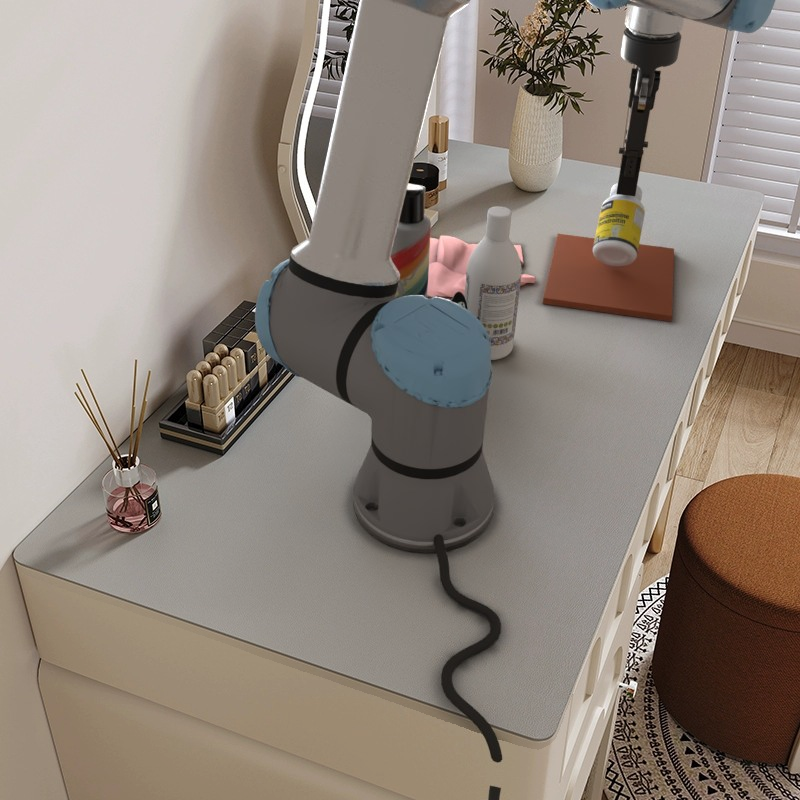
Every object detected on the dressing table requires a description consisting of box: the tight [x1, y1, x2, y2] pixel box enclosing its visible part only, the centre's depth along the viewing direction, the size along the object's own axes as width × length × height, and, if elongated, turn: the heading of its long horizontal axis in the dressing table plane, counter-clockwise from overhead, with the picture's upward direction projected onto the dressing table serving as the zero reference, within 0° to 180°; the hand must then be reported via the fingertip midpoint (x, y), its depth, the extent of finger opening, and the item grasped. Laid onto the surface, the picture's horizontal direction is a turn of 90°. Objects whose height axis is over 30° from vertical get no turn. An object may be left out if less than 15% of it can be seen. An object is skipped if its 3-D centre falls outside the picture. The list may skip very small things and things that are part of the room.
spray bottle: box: [390, 182, 432, 299], centre depth 136 cm, size 6×6×20 cm
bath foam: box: [464, 205, 523, 361], centre depth 131 cm, size 7×7×20 cm
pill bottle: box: [593, 182, 646, 266], centre depth 152 cm, size 6×6×12 cm
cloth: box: [427, 235, 536, 299], centre depth 153 cm, size 20×22×2 cm
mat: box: [542, 233, 675, 323], centre depth 152 cm, size 20×18×1 cm
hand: (626, 192), depth 150 cm, fingers closed
